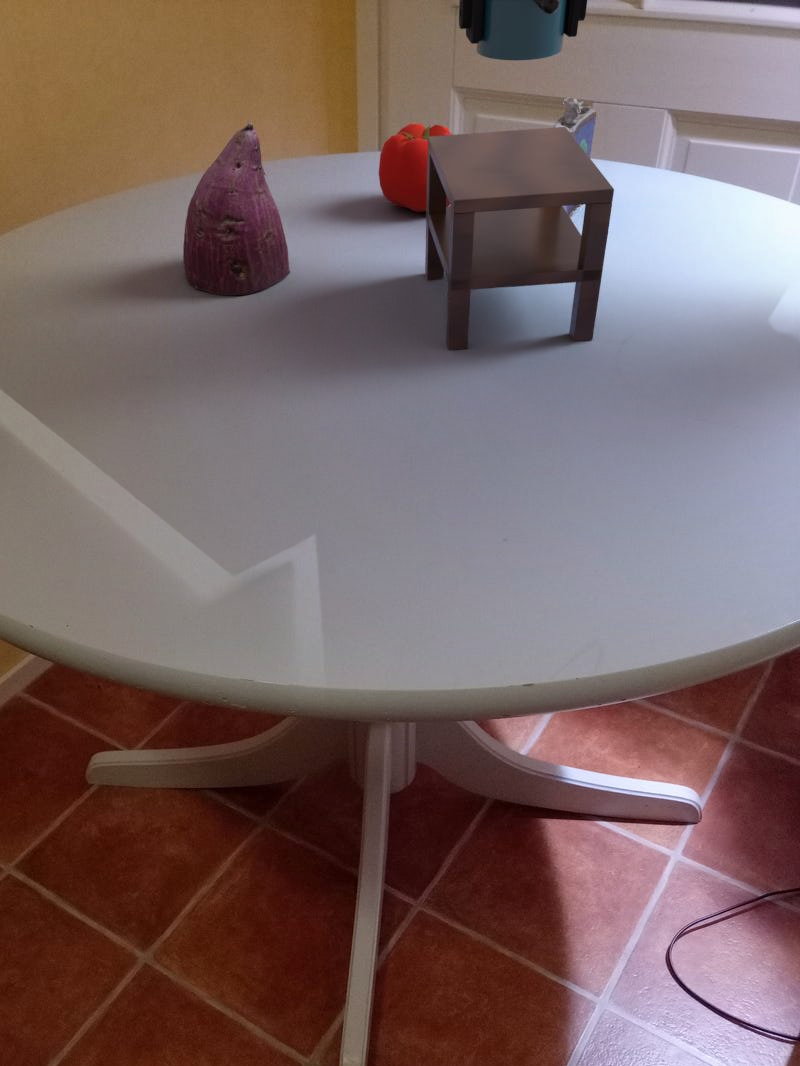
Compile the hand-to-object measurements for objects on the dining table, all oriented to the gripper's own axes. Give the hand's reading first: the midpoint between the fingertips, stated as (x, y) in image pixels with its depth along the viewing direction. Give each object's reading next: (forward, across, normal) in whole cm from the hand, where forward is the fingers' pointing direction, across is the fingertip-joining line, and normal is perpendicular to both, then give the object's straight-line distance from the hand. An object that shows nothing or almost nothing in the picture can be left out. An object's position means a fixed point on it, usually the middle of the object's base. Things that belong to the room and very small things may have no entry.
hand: (520, 33), depth 73 cm
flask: (+21, +10, +20) cm, 31 cm away
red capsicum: (+21, -4, +25) cm, 33 cm away
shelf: (+21, 0, -1) cm, 21 cm away
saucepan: (+1, 0, -3) cm, 3 cm away
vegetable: (+21, -24, +10) cm, 33 cm away
